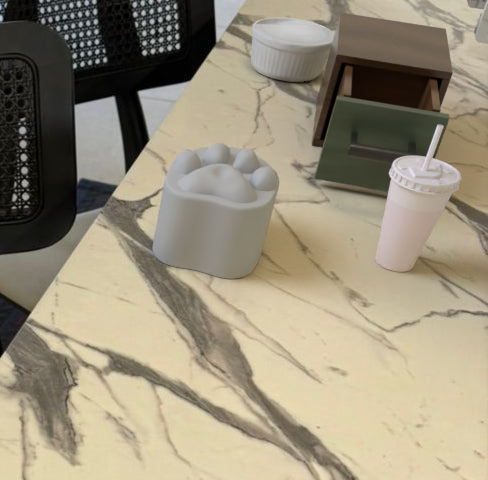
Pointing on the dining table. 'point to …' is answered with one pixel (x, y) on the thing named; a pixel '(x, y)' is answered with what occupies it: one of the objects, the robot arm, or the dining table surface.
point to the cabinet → (381, 57)
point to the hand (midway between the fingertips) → (479, 22)
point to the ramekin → (290, 48)
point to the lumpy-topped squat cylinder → (215, 211)
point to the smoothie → (414, 206)
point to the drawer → (378, 125)
